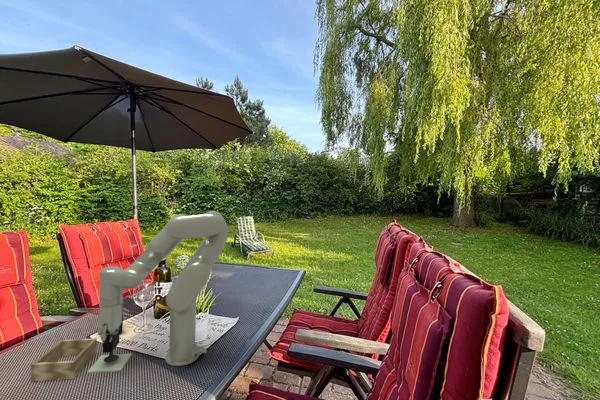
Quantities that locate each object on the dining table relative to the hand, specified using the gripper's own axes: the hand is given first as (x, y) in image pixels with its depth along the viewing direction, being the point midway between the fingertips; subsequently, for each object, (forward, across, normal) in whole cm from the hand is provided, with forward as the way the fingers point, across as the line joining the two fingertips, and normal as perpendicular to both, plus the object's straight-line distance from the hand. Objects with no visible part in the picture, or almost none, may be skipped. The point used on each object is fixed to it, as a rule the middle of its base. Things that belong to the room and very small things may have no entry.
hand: (111, 347), depth 119 cm
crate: (+6, 0, -15) cm, 16 cm away
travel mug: (+7, -24, -9) cm, 27 cm away
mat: (+6, 0, 0) cm, 6 cm away
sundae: (+5, 0, 0) cm, 5 cm away
